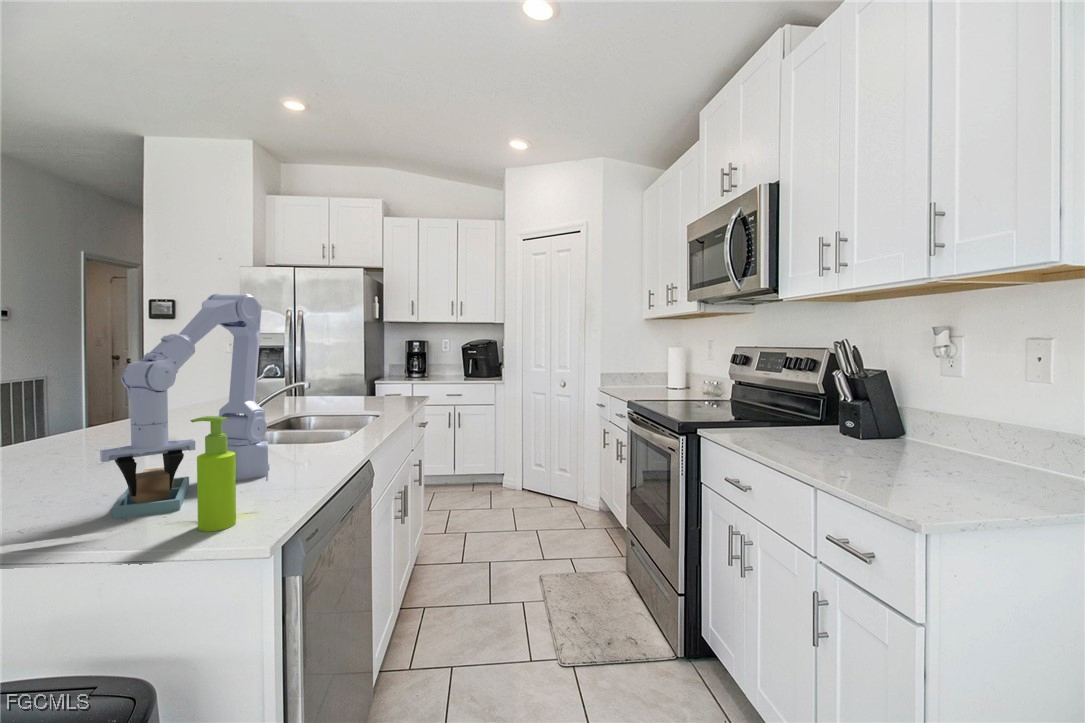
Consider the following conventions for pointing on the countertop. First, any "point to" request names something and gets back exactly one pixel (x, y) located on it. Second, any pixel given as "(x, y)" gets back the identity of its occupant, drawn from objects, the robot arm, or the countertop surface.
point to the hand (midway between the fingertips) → (150, 492)
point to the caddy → (130, 508)
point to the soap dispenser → (216, 480)
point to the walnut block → (152, 487)
